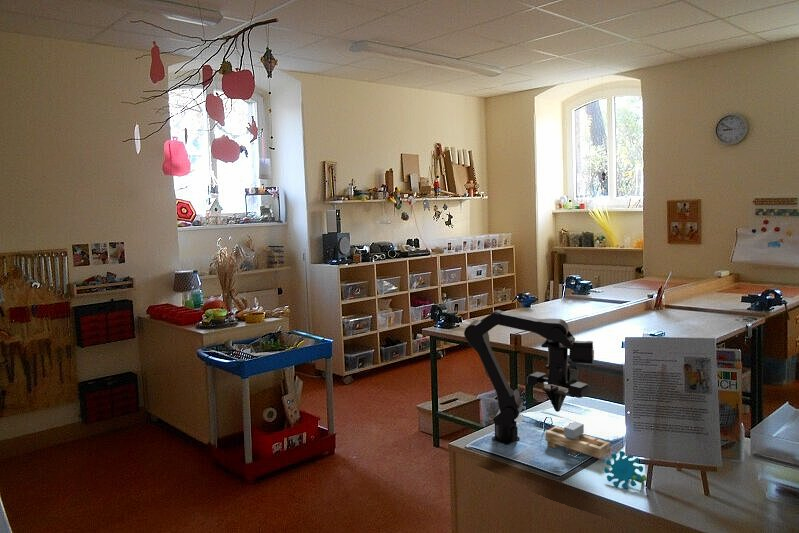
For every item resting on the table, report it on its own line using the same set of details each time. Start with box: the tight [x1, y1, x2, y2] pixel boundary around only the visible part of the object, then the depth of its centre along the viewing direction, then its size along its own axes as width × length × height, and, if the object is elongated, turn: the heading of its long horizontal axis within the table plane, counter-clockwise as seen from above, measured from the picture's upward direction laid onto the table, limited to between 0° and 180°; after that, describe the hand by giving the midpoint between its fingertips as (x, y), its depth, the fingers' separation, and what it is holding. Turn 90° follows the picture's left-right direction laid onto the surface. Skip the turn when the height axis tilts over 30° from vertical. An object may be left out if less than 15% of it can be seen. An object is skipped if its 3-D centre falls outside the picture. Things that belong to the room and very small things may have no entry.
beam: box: [544, 425, 611, 459], centre depth 180 cm, size 18×6×5 cm, turn 43°
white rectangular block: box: [563, 421, 585, 440], centre depth 180 cm, size 3×6×4 cm, turn 133°
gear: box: [603, 450, 648, 490], centre depth 162 cm, size 11×6×10 cm
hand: (557, 411), depth 183 cm, fingers closed
